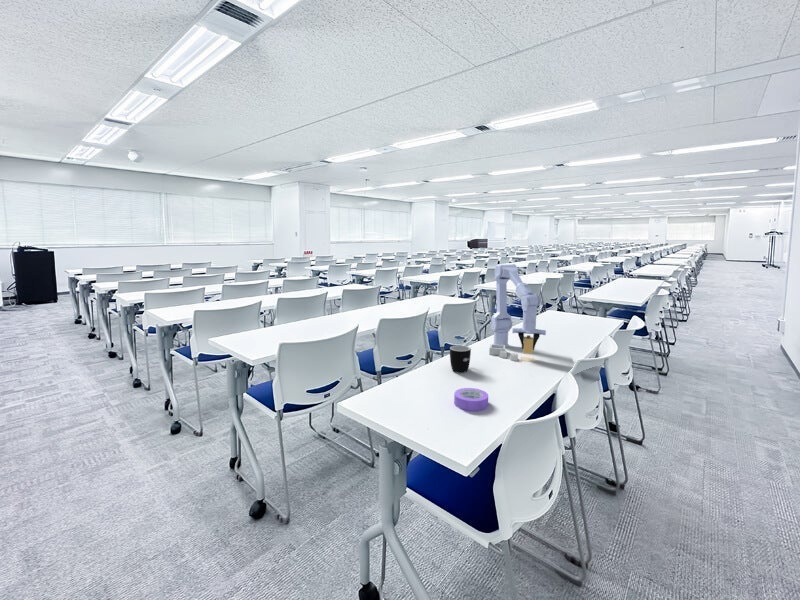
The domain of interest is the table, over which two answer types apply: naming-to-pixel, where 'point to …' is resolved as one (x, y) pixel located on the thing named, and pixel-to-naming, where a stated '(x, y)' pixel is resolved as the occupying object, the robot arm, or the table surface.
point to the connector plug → (528, 345)
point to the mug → (460, 358)
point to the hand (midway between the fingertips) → (527, 348)
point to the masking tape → (471, 399)
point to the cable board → (502, 353)
